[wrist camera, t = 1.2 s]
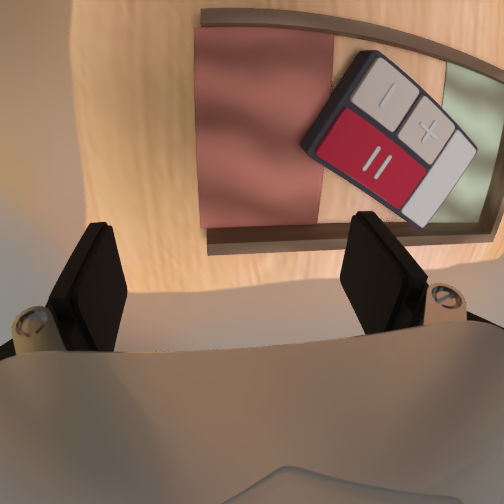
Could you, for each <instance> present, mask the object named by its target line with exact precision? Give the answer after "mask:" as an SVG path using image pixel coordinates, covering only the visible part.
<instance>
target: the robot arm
mask: <svg viewBox="0 0 504 504" xmlns="http://www.w3.org/2000/svg"><path fill="white" fill-rule="evenodd" d="M427 278H428V276H427V275H426V274H425V272H424V271H423V270H422V268H421V267H420V266H419V265H418V263H417V262H416V261H415V260H414V258H413V257H412V256H411V255H410V254H409V252H408V251H407V250H406V249H405V247H404V246H403V245H402V244H401V243H400V241H399V240H398V239H397V238H396V237H395V236H394V234H393V233H392V232H391V231H390V230H389V229H388V227H387V226H386V225H385V224H384V223H383V222H382V221H381V219H380V218H379V217H378V216H377V215H376V214H375V213H374V212H373V211H358V212H357V213H356V215H353V216H352V219H351V224H350V229H349V234H348V239H347V245H346V250H345V254H344V259H343V264H342V269H341V273H340V281H341V284H342V286H343V289H344V291H345V293H346V295H347V297H348V299H349V301H350V303H351V305H352V307H353V309H354V311H355V313H356V315H357V317H358V320H359V322H360V324H361V325H362V328H363V330H364V332H365V334H366V335H360V336H353V337H345V338H338V339H330V340H323V341H322V340H321V341H313V342H303V343H294V344H285V345H273V346H262V347H248V348H234V349H216V350H195V351H162V352H113V351H114V347H115V342H116V338H117V333H118V330H119V325H120V321H121V317H122V313H123V309H124V305H125V302H126V298H127V285H126V281H125V277H124V274H123V270H122V266H121V262H120V258H119V254H118V250H117V245H116V241H115V237H114V232H113V228H112V226H108V225H107V223H106V222H97V223H90V224H89V226H88V227H87V229H86V231H85V232H84V234H83V236H82V237H81V239H80V241H79V242H78V244H77V246H76V248H75V249H74V251H73V253H72V255H71V256H70V258H69V260H68V262H67V264H66V265H65V267H64V270H63V271H62V273H61V275H60V277H59V278H58V281H57V282H56V285H55V286H54V288H53V290H52V292H51V294H50V296H49V300H48V302H47V304H46V306H45V307H43V306H34V307H31V308H28V309H26V310H24V311H23V312H21V313H20V314H19V315H18V316H17V317H16V319H15V320H14V322H13V324H12V337H13V339H11V340H10V341H8V342H7V343H5V344H4V345H2V346H0V504H504V328H503V327H500V326H498V325H496V324H494V323H492V322H490V321H488V320H485V319H483V318H481V317H479V316H477V315H474V314H472V313H470V312H468V311H466V301H465V298H464V297H463V295H462V294H461V293H460V292H459V291H458V290H457V289H456V288H454V287H453V286H450V285H448V284H444V283H434V284H431V285H430V286H429V285H428V284H427V282H426V281H427Z"/></svg>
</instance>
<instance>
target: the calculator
mask: <svg viewBox="0 0 504 504" xmlns="http://www.w3.org/2000/svg"><path fill="white" fill-rule="evenodd" d="M300 146H301V148H302V149H303V151H304V152H305V153H306V154H307V155H308V156H309V157H310V158H312V159H313V160H315V161H317V162H318V163H320V164H322V165H323V166H325V167H326V168H328V169H330V170H331V171H333V172H334V173H336V174H338V175H339V176H341V177H342V178H344V179H345V180H347V181H349V182H350V183H352V184H353V185H355V186H356V187H358V188H359V189H361V190H362V191H364V192H365V193H367V194H368V195H370V196H371V197H373V198H374V199H376V200H377V201H379V202H380V203H381V204H383V205H384V206H386V207H387V208H389V209H390V210H391V211H393V212H394V213H396V214H397V215H398V216H400V217H401V218H403V219H404V220H405V221H407V222H408V223H409V224H411V225H412V226H414V227H415V228H416V229H418V230H423V229H424V228H425V226H426V225H427V224H428V222H429V221H430V220H431V218H432V217H433V216H434V214H435V213H436V212H437V210H438V209H439V208H440V206H441V205H442V203H443V202H444V201H445V199H446V198H447V196H448V195H449V194H450V192H451V191H452V189H453V188H454V186H455V185H456V184H457V182H458V181H459V179H460V178H461V176H462V175H463V173H464V172H465V170H466V169H467V167H468V166H469V164H470V163H471V161H472V160H473V158H474V157H475V155H476V153H477V151H478V148H477V146H476V145H475V144H474V143H473V141H472V140H471V139H470V138H469V137H468V136H467V135H466V133H465V132H464V131H463V130H462V129H461V128H460V127H459V126H458V124H457V123H456V122H455V121H454V120H453V119H452V118H451V117H450V116H449V115H448V114H447V113H446V112H445V111H444V110H443V108H442V107H441V106H440V105H439V104H438V103H437V102H436V101H435V100H434V99H433V98H432V97H431V96H430V95H428V94H427V93H426V92H425V91H424V90H423V89H422V88H421V87H420V86H419V85H418V84H417V83H416V82H415V81H414V80H412V79H411V78H410V77H409V76H408V75H407V74H406V73H405V72H403V71H402V70H401V69H400V68H399V67H398V66H396V65H395V64H394V63H393V62H392V61H390V60H389V59H388V58H387V57H386V56H384V55H383V54H382V53H381V52H379V51H377V50H367V51H361V52H360V53H359V54H358V56H357V57H356V59H355V60H354V62H353V63H352V65H351V66H350V68H349V69H348V71H347V72H346V74H345V75H344V77H343V78H342V80H341V81H340V83H339V84H338V86H337V87H336V89H335V91H334V92H333V94H332V95H331V97H330V98H329V100H328V101H327V103H326V104H325V106H324V107H323V109H322V110H321V112H320V114H319V115H318V117H317V118H316V120H315V121H314V123H313V124H312V126H311V127H310V129H309V130H308V132H307V134H306V135H305V137H304V138H303V140H302V141H301V144H300Z"/></svg>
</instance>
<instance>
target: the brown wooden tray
mask: <svg viewBox="0 0 504 504" xmlns="http://www.w3.org/2000/svg"><path fill="white" fill-rule="evenodd" d="M201 26H202V27H200V28H194V74H195V122H196V150H197V172H198V191H199V208H200V224H201V228H207V254H208V256H210V255H231V254H253V253H274V252H296V251H317V250H338V249H346V245H347V239H348V234H349V229H350V224H351V223H330V224H317V220H318V212H319V204H320V196H321V188H322V180H323V171H324V166H323V165H322V164H320V163H318V162H317V161H315V160H313V159H312V158H310V157H309V156H308V155H307V154H306V153H305V152H304V151H303V149H302V148H301V146H300V144H301V141H302V140H303V138H304V137H305V135H306V134H307V132H308V130H309V129H310V127H311V126H312V124H313V123H314V121H315V120H316V118H317V117H318V115H319V114H320V112H321V110H322V109H323V107H324V106H325V104H326V103H327V101H328V100H329V98H330V97H331V83H332V68H333V51H334V35H341V36H347V37H352V38H358V39H363V40H368V41H373V42H377V43H382V44H386V45H391V46H395V47H399V48H402V49H406V50H410V51H414V52H417V53H421V54H424V55H427V56H430V57H434V58H437V59H440V60H443V61H446V62H447V65H446V76H445V85H444V93H443V101H442V108H443V110H444V111H445V112H446V113H447V114H448V115H449V116H450V117H451V118H452V119H453V120H454V121H455V122H456V123H457V124H458V126H459V127H460V128H461V129H462V130H463V131H464V132H465V133H466V135H467V136H468V137H469V138H470V139H471V140H472V141H473V143H474V144H475V145H476V146H477V148H478V151H477V153H476V155H475V157H474V158H473V160H472V161H471V163H470V164H469V166H468V167H467V169H466V170H465V172H464V173H463V175H462V176H461V178H460V179H459V181H458V182H457V184H456V185H455V186H454V188H453V189H452V191H451V192H450V194H449V195H448V196H447V198H446V199H445V201H444V202H443V203H442V205H441V206H440V208H439V209H438V210H437V212H436V213H435V214H434V216H433V217H432V218H431V220H430V221H429V222H428V224H427V225H426V226H425V228H424V229H423V230H418V229H416V228H415V227H414V226H412V225H411V224H409V223H408V222H389V223H384V224H385V225H386V226H387V227H388V229H389V230H390V231H391V232H392V233H393V234H394V236H395V237H396V238H397V239H398V240H399V241H400V243H401V244H402V245H403V246H422V245H443V244H463V243H484V242H493V240H494V238H495V235H496V233H497V230H498V227H499V224H500V222H501V219H502V216H503V213H504V71H503V70H501V69H499V68H497V67H495V66H493V65H491V64H489V63H487V62H484V61H482V60H480V59H478V58H475V57H473V56H471V55H468V54H466V53H463V52H461V51H458V50H456V49H453V48H450V47H448V46H445V45H442V44H440V43H437V42H434V41H431V40H428V39H425V38H422V37H419V36H415V35H412V34H409V33H405V32H402V31H398V30H394V29H391V28H387V27H383V26H379V25H374V24H370V23H365V22H361V21H356V20H351V19H345V18H340V17H334V16H328V15H321V14H314V13H306V12H297V11H286V10H273V9H254V8H207V9H201Z"/></svg>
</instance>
